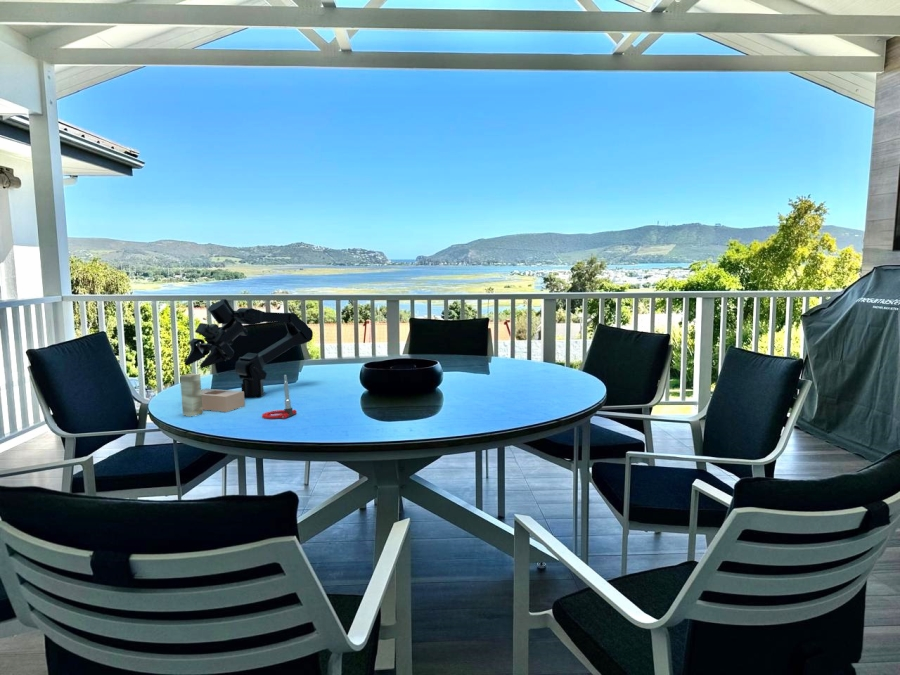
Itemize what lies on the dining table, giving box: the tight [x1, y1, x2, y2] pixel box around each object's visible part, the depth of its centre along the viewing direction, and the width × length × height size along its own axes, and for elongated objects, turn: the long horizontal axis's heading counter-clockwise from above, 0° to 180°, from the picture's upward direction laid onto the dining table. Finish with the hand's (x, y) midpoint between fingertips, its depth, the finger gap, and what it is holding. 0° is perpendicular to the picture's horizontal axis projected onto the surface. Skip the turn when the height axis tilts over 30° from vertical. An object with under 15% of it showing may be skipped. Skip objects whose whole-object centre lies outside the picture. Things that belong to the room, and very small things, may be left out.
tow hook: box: [261, 374, 298, 420], centre depth 177 cm, size 8×13×9 cm
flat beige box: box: [201, 388, 246, 413], centre depth 190 cm, size 8×16×5 cm, turn 68°
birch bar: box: [179, 373, 204, 417], centre depth 180 cm, size 4×4×12 cm
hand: (192, 365), depth 188 cm, fingers open, 9 cm apart
